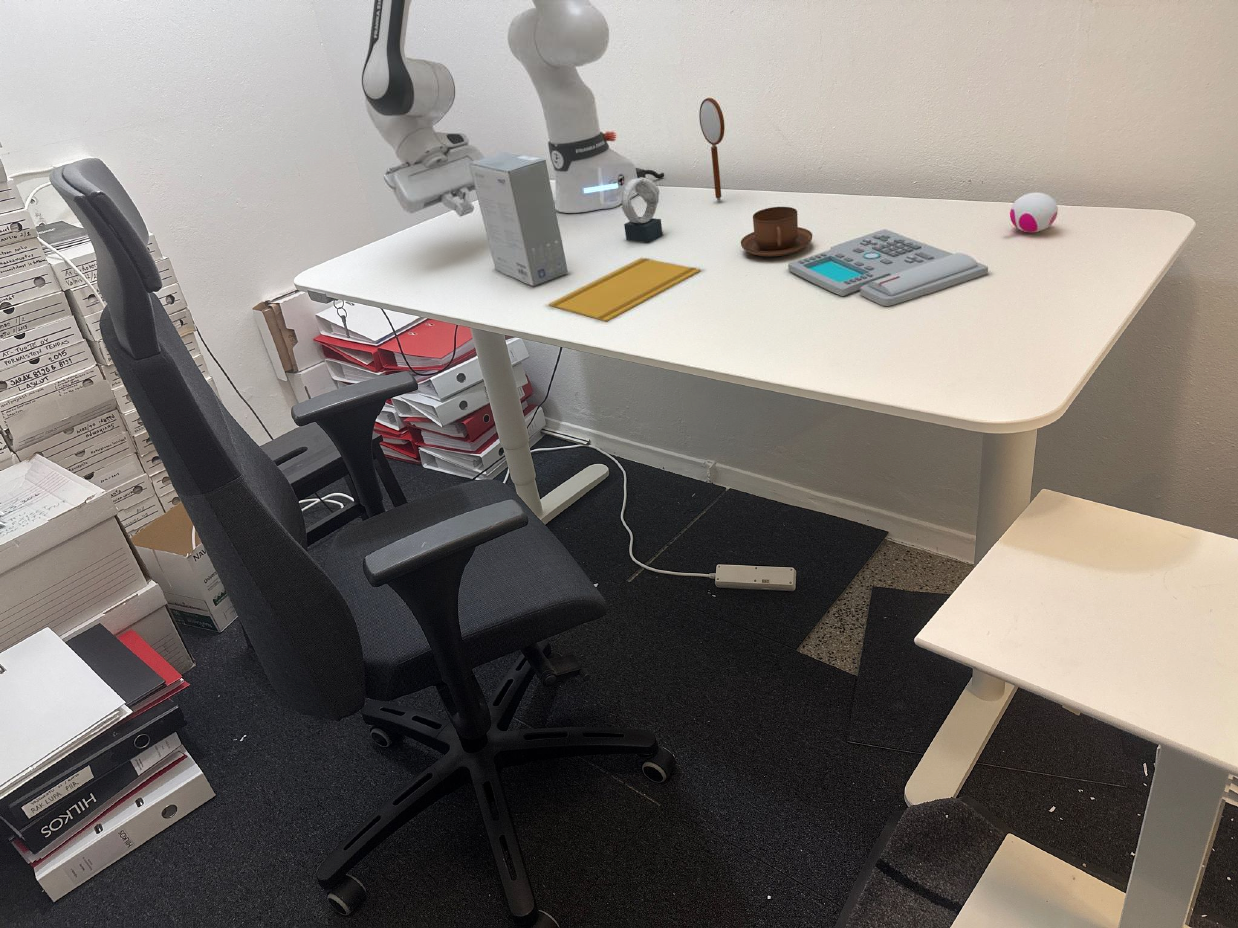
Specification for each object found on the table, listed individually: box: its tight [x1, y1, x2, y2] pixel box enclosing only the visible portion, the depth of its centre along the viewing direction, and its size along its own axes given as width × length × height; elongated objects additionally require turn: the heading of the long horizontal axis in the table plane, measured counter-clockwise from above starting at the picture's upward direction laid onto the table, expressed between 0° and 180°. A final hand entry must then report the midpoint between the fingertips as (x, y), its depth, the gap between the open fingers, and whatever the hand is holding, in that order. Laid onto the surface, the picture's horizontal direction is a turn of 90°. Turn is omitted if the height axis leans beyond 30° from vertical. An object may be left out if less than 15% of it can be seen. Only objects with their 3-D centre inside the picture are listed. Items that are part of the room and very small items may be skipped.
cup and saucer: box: [740, 206, 813, 257], centre depth 138 cm, size 12×12×6 cm
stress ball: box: [1009, 191, 1059, 236], centre depth 128 cm, size 8×8×7 cm
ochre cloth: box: [548, 257, 701, 322], centre depth 136 cm, size 22×14×1 cm, turn 134°
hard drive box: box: [469, 152, 569, 287], centre depth 145 cm, size 16×8×20 cm, turn 34°
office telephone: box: [787, 228, 989, 307], centre depth 124 cm, size 23×3×20 cm
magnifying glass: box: [698, 97, 725, 203], centre depth 163 cm, size 9×2×20 cm, turn 23°
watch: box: [621, 178, 664, 244], centre depth 154 cm, size 6×8×11 cm
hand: (467, 212), depth 156 cm, fingers closed
